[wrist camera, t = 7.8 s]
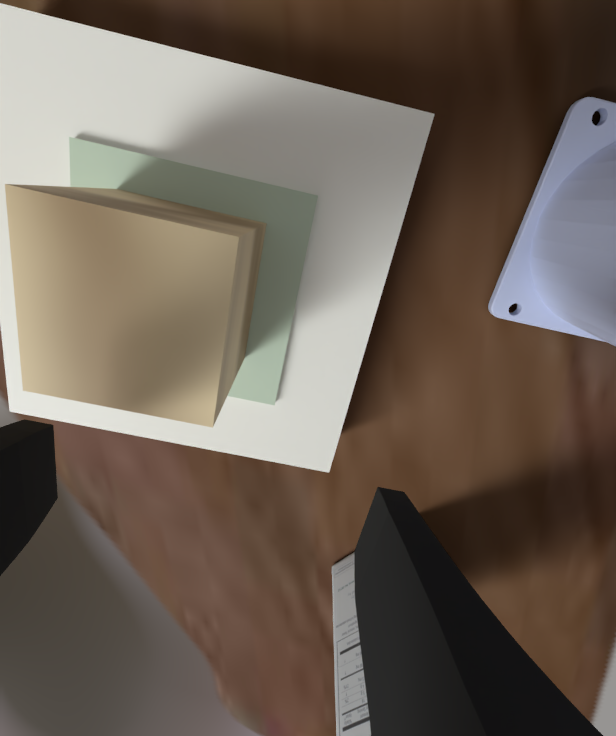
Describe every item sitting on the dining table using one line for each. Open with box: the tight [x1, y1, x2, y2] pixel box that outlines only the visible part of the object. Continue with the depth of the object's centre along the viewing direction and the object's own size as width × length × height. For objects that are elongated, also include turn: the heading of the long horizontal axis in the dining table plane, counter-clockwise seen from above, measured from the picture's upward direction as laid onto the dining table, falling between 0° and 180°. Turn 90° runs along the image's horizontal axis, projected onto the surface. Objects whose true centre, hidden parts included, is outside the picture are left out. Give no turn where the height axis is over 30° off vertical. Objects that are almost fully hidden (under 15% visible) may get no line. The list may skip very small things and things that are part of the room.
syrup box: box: [332, 553, 371, 736], centre depth 17 cm, size 6×6×14 cm
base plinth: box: [0, 3, 435, 472], centre depth 15 cm, size 14×14×3 cm
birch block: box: [5, 184, 267, 428], centre depth 12 cm, size 5×5×5 cm
